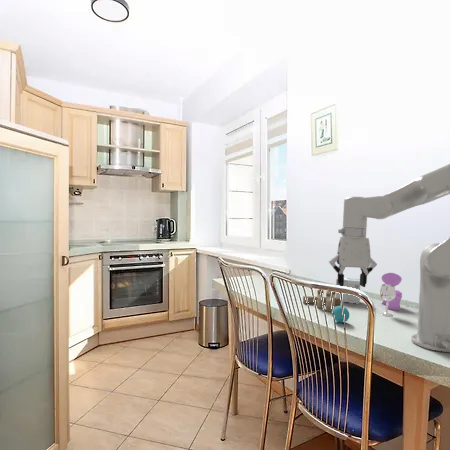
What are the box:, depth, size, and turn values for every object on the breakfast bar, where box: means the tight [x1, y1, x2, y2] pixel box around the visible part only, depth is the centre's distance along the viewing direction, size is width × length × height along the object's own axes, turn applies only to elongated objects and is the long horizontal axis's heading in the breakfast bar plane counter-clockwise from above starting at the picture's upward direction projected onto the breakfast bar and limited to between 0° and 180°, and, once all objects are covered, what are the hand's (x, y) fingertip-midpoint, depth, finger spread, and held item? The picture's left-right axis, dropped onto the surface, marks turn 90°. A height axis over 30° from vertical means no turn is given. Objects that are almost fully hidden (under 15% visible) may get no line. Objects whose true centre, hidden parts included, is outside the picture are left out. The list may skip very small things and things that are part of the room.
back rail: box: [302, 295, 341, 306], centre depth 149 cm, size 2×16×3 cm, turn 89°
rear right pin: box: [332, 291, 336, 308], centre depth 142 cm, size 2×2×8 cm
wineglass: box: [379, 283, 396, 317], centre depth 136 cm, size 6×6×12 cm
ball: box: [331, 305, 350, 323], centre depth 123 cm, size 6×6×6 cm
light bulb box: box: [335, 276, 361, 305], centre depth 156 cm, size 11×7×11 cm, turn 69°
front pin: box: [325, 291, 333, 313], centre depth 138 cm, size 2×2×8 cm
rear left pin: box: [316, 289, 325, 310], centre depth 143 cm, size 2×2×8 cm
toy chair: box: [381, 272, 403, 311], centre depth 149 cm, size 8×9×15 cm
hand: (351, 285), depth 113 cm, fingers open, 6 cm apart
